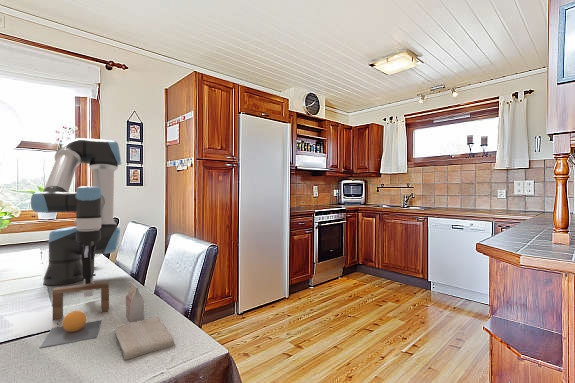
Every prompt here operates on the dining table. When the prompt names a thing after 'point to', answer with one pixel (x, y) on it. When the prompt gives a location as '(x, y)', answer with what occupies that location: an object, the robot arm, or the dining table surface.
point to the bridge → (60, 290)
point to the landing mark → (71, 334)
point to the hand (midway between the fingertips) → (88, 295)
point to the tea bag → (134, 305)
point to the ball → (74, 321)
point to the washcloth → (142, 337)
